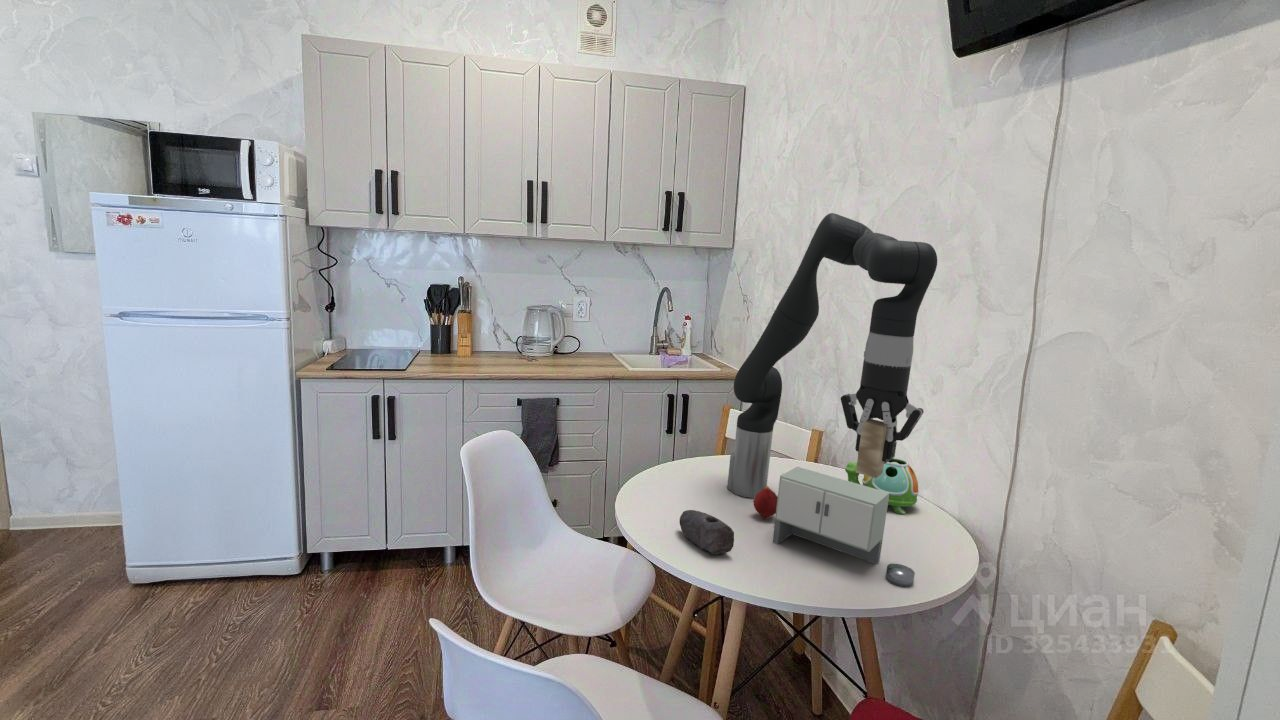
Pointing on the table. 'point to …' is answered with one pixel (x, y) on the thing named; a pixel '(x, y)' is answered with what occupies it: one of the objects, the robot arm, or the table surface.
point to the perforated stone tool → (707, 531)
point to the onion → (766, 503)
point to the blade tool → (872, 448)
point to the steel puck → (900, 575)
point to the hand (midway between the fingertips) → (873, 457)
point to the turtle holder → (891, 482)
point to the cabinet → (831, 513)
